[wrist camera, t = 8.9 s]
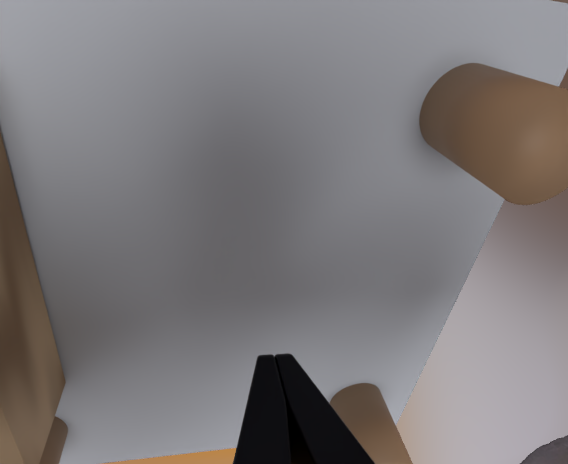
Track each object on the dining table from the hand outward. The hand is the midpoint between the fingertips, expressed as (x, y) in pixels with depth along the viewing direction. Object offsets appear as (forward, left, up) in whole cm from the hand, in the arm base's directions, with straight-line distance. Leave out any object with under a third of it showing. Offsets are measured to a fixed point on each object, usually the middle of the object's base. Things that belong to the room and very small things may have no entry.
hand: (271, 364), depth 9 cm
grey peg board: (+1, +2, -6) cm, 6 cm away
